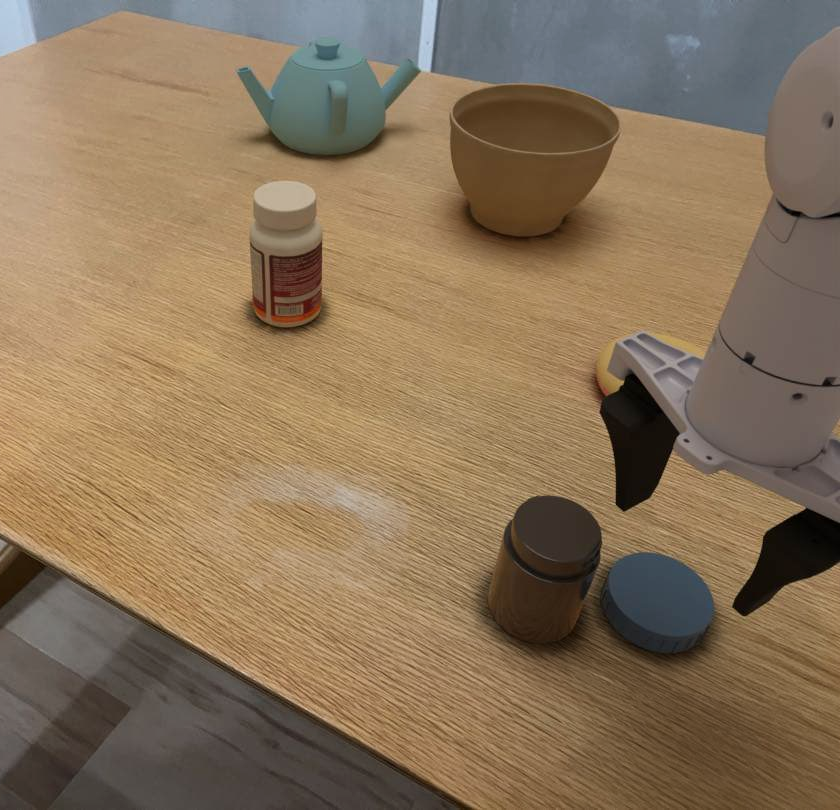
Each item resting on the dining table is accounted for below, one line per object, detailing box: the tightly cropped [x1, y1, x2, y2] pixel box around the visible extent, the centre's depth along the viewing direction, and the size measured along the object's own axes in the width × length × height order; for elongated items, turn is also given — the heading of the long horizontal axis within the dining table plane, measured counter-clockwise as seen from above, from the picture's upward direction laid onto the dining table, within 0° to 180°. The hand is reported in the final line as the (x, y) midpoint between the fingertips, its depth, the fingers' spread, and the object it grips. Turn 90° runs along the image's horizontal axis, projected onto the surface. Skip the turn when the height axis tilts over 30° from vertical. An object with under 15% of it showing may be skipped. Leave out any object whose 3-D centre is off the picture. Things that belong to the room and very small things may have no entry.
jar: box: [487, 494, 603, 645], centre depth 48 cm, size 5×5×8 cm
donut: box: [595, 332, 707, 397], centre depth 64 cm, size 10×5×9 cm
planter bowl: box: [449, 82, 622, 238], centre depth 83 cm, size 16×16×11 cm
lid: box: [600, 551, 715, 655], centre depth 50 cm, size 6×6×2 cm
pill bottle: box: [248, 180, 324, 328], centre depth 70 cm, size 6×6×11 cm
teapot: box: [235, 36, 422, 156], centre depth 98 cm, size 15×17×11 cm
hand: (688, 549), depth 43 cm, fingers open, 7 cm apart
